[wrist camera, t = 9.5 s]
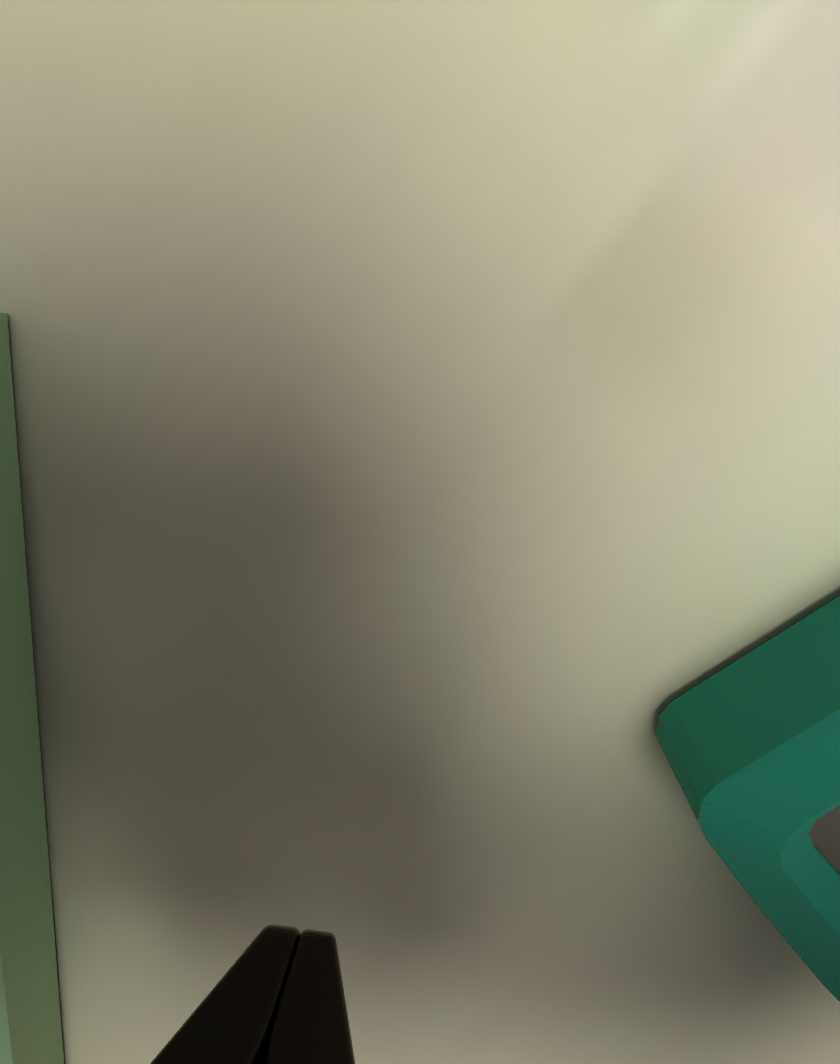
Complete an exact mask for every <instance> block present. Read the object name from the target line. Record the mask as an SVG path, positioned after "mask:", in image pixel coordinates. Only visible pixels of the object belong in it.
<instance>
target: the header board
mask: <svg viewBox="0 0 840 1064" xmlns="http://www.w3.org/2000/svg"><path fill="white" fill-rule="evenodd" d="M0 1064H64V1054H63V1041H62V1028H61V1015H60V1002H59V989H58V975H57V962H56V949H55V936H54V923H53V910H52V896H51V883H50V870H49V857H48V844H47V831H46V817H45V804H44V791H43V778H42V765H41V752H40V738H39V725H38V712H37V699H36V686H35V672H34V659H33V646H32V633H31V620H30V607H29V593H28V580H27V567H26V554H25V541H24V528H23V514H22V501H21V488H20V475H19V462H18V449H17V435H16V422H15V409H14V396H13V383H12V370H11V356H10V343H9V330H8V317H7V314H4V313H0Z"/></svg>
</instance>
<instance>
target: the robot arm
mask: <svg viewBox="0 0 840 1064" xmlns="http://www.w3.org/2000/svg"><path fill="white" fill-rule="evenodd" d="M151 1064H355V1060H354V1053H353V1047H352V1041H351V1034H350V1028H349V1021H348V1015H347V1009H346V1002H345V996H344V989H343V983H342V976H341V970H340V964H339V957H338V951H337V944H336V939H335V937H334V935H333V934H332V933H330V932H323V931H315V930H304V931H302V933H301V934H300V931H299V930H298V929H296V928H294V927H287V926H280V925H269V926H267V927H265V928H264V929H263V930H262V931H261V932H260V934H259V935H258V936H257V937H256V938H255V940H254V941H253V942H252V943H251V944H250V946H249V947H248V948H247V949H246V950H245V951H244V953H243V954H242V955H241V956H240V957H239V959H238V960H237V961H236V962H235V963H234V965H233V966H232V967H231V968H230V969H229V971H228V972H227V973H226V974H225V975H224V977H223V978H222V979H221V980H220V981H219V982H218V984H217V985H216V986H215V987H214V988H213V990H212V991H211V992H210V993H209V994H208V996H207V997H206V998H205V999H204V1000H203V1002H202V1003H201V1004H200V1005H199V1006H198V1008H197V1009H196V1010H195V1011H194V1012H193V1013H192V1015H191V1016H190V1017H189V1018H188V1019H187V1021H186V1022H185V1023H184V1024H183V1025H182V1027H181V1028H180V1029H179V1030H178V1031H177V1033H176V1034H175V1035H174V1036H173V1037H172V1039H171V1040H170V1041H169V1042H168V1043H167V1044H166V1046H165V1047H164V1048H163V1049H162V1050H161V1052H160V1053H159V1054H158V1055H157V1056H156V1058H155V1059H154V1060H153V1061H152V1062H151Z"/></svg>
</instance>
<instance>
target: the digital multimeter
mask: <svg viewBox="0 0 840 1064" xmlns="http://www.w3.org/2000/svg"><path fill="white" fill-rule="evenodd" d="M655 734H656V736H657V738H658V740H659V743H660V745H661V747H662V749H663V751H664V753H665V755H666V757H667V759H668V761H669V763H670V765H671V767H672V769H673V771H674V773H675V775H676V778H677V780H678V782H679V784H680V786H681V788H682V790H683V792H684V794H685V796H686V798H687V800H688V802H689V804H690V806H691V808H692V810H693V812H694V814H695V817H696V819H697V821H698V823H699V825H700V827H701V829H702V831H703V833H704V835H705V837H706V839H707V840H708V842H709V843H710V844H711V845H712V847H713V848H714V849H715V851H716V852H717V853H718V855H719V856H720V857H721V858H722V860H723V861H724V862H725V864H726V865H727V866H728V867H729V869H730V870H731V871H732V873H733V874H734V875H735V876H736V878H737V879H738V880H739V882H740V883H741V884H742V886H743V887H744V888H745V889H746V891H747V892H748V893H749V895H750V896H751V897H752V898H753V900H754V901H755V902H756V904H757V905H758V906H759V907H760V909H761V910H762V911H763V913H764V914H765V915H766V916H767V918H768V919H769V920H770V921H771V922H772V924H773V925H774V926H775V927H776V928H777V930H778V931H779V932H780V933H781V934H782V936H783V937H784V938H785V939H786V940H787V942H788V943H789V944H790V945H791V946H792V948H793V949H794V950H795V951H796V952H797V954H798V955H799V956H800V957H801V958H802V960H803V961H804V962H805V963H806V964H807V966H808V967H809V968H810V969H811V970H812V972H813V973H814V974H815V975H816V976H817V978H818V979H819V980H820V981H821V982H822V984H823V985H824V986H825V987H826V988H827V989H828V990H829V991H830V992H831V993H832V994H833V995H834V996H835V997H836V998H837V999H838V1000H839V1001H840V596H838V597H837V598H835V599H834V600H832V601H830V602H829V603H827V604H826V605H824V606H822V607H821V608H819V609H818V610H816V611H814V612H813V613H811V614H810V615H808V616H806V617H805V618H803V619H802V620H800V621H798V622H797V623H795V624H794V625H792V626H790V627H789V628H787V629H786V630H784V631H783V632H781V633H779V634H778V635H776V636H775V637H773V638H771V639H770V640H768V641H767V642H765V643H763V644H762V645H760V646H759V647H757V648H756V649H754V650H752V651H751V652H749V653H748V654H746V655H744V656H743V657H741V658H740V659H738V660H737V661H735V662H733V663H732V664H730V665H729V666H727V667H726V668H724V669H722V670H721V671H719V672H718V673H716V674H714V675H713V676H711V677H710V678H708V679H707V680H705V681H703V682H702V683H700V684H699V685H697V686H695V687H694V688H692V689H691V690H689V691H688V692H686V693H684V694H683V695H681V696H680V697H678V698H677V699H675V700H673V701H672V702H671V703H670V704H669V705H668V706H667V707H666V708H665V709H664V711H663V712H662V713H661V714H660V715H659V716H658V721H657V727H656V733H655Z"/></svg>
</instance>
